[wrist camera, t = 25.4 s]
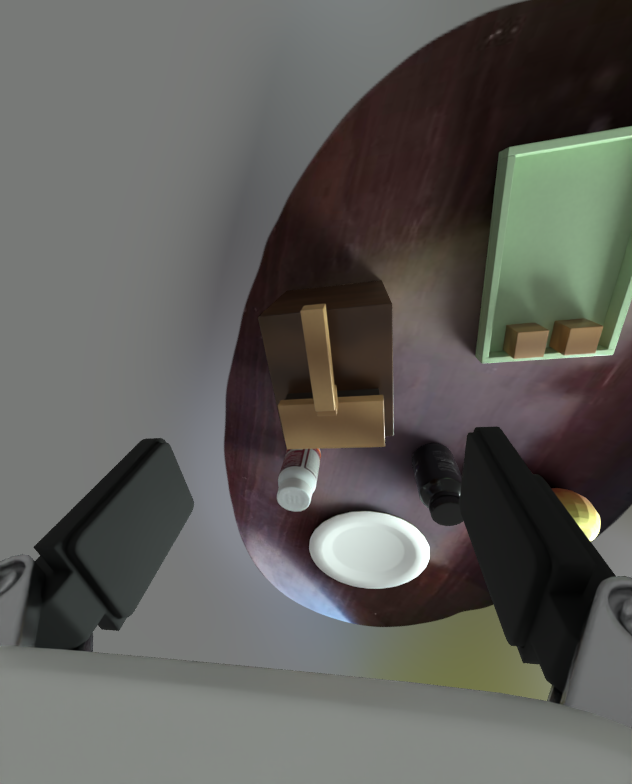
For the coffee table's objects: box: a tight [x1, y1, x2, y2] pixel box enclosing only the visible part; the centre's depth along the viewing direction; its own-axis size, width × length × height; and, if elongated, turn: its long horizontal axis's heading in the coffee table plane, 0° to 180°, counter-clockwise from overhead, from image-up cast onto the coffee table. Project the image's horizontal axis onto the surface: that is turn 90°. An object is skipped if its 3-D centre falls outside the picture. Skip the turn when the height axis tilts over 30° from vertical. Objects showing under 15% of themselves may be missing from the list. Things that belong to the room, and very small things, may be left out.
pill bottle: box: [277, 448, 321, 511], centre depth 51 cm, size 6×6×11 cm
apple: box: [551, 488, 600, 541], centre depth 51 cm, size 10×10×8 cm
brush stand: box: [258, 280, 394, 439], centre depth 39 cm, size 15×13×14 cm
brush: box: [278, 304, 385, 449], centre depth 30 cm, size 16×11×6 cm
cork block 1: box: [503, 323, 549, 359], centre depth 40 cm, size 4×4×4 cm
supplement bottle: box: [412, 443, 464, 526], centre depth 48 cm, size 7×7×12 cm
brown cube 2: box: [549, 318, 603, 355], centre depth 39 cm, size 4×4×4 cm
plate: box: [309, 511, 430, 589], centre depth 65 cm, size 25×25×2 cm
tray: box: [475, 126, 632, 363], centre depth 36 cm, size 24×16×3 cm, turn 7°
